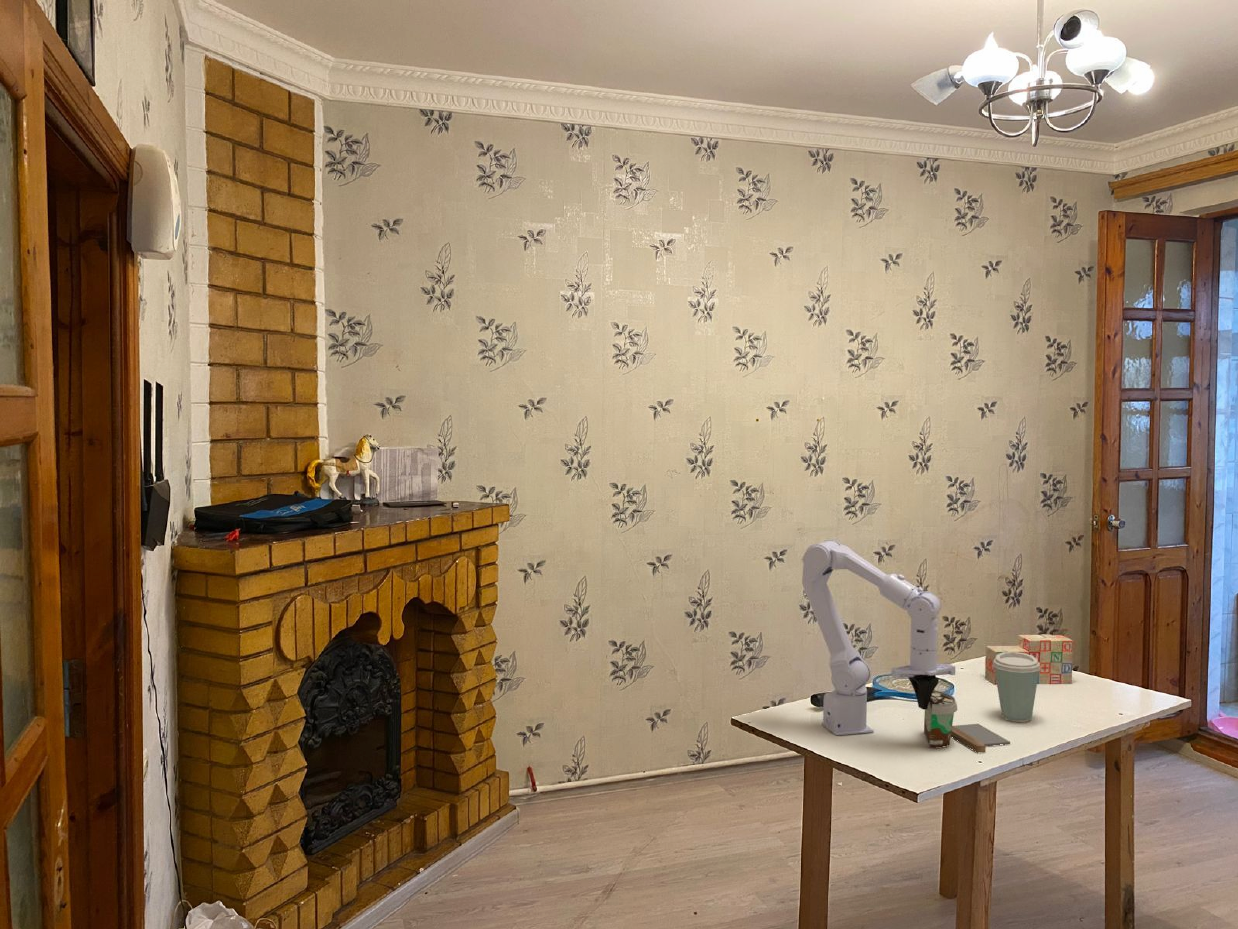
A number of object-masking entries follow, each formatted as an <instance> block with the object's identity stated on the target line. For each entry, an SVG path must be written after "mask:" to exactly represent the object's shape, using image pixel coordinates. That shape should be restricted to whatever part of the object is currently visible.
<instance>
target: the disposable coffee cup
mask: <svg viewBox="0 0 1238 929" xmlns="http://www.w3.org/2000/svg"><path fill="white" fill-rule="evenodd" d="M993 666H994V669H995V675H996V681H997V685H996V688H997V693H998V700H999V706H1000V711H1001V712H1000V713H1001V715H1002V718H1003V719H1005V720H1006V719H1007V720H1006V721H1010V722H1012V723H1013V722H1014V723H1028V722H1031V719H1032V717H1033V712H1034V706H1035V698H1036V694H1037V693H1036V692H1037V687H1038V684H1037V681H1038V675H1039V670H1040V668H1041V667H1040V663H1039V662H1038V660H1037V659H1036V658H1035V657H1033V656H1031V655H1028V654H1025V653H1017V652H1003V653H1000V654H998V655H996V658H995V659H994V661H993Z"/></svg>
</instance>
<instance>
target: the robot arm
mask: <svg viewBox="0 0 1238 929" xmlns="http://www.w3.org/2000/svg"><path fill="white" fill-rule="evenodd" d="M801 560H802V564H803V565H802V566H803V567H802V568H803V569H802V578H801V582H802V586H803V589H804V592H805V594H806V597H807V599H808V602H809V604H810V606H811V610H812V612H813V614H814V617H815V619H816V622H817V624H818V627H819V629H820V632H821V635H822V636H823V640H824V642H825V644H826V647H827V649H828V651H829V654H830V657H829V662H828V663H829V664H828V665H829V668H830V672H831V677H830V678H831V684H832V686H833V687H834V690H832V691H829V692H825V693H824V696H823V703H822V704H823V711H822V713H823V714H822V716H823V718H822V722H821V725H822V726H823V727H825V728H826V729H827V730H829V731H830V732H831V733H833V734H834V735H835V736H844V735H855V734H856V735H858V734H868V733H870V734H871V733H874V729H873V728H871V726H868V724H867V714H868V713H867V711H868V710H867V709H868V708H867V707H868V706H867V705H868V704H867V703H868V699H867V698H868V689H867V686H866V683H868V682H869V681H870V678H871V675H872V674H871V672H872V671H871V668H870V666H869V664H868V663H867V661H865V660H864V659H863V658H862V656H861V653H860V652H859V651H858V650H857V649H856V648H855V647H854V646H853V645H852V642H851V640H850V637H849V635H848V633H847V630H846V628H845V624H844V622H843V620H842V618H841V614H840V613H839V611H838V608H837V606H836V603H835V600H834V599H833V596H832V594H831V591H830V589H829V586H828V581H829V580H830V577H831V575H832V573H833V571H834V570H835V571H836V570H847V571H850V572H852V574H855V575H858V576H859V577H861V578H862V579H864V580H865V581H867V582H869V583H870V584H872V585H874V586H876V587H877V588H878V589H879V594H880V595H881V596H882V597H884V598H885V599H887V600H889V601H890V602H891V603H893V604H895V605H897V606H898V607H899V608H901V609H902V610H904V611H906V612H907V614H908V617H909V618H910V619H911V621H910V622H911V623H910V648H909V650H910V652H909V654H910V655H909V657H910V658H909V664H907V665H904V666H899V667H893V668H892V667H891V672H890V673H891V675H890V676H891V678H893V679H895V680H900V679H902V678H903V679H904V678H908V680H909V682H910V684H911V687H913V691H914V694H915V697H916V702H917V706H918V708H919V709H921V710H924V711H925V709H927V708H928V704H929V701H930V698H931V695H932V693H933V691H934V690H936V687H937V686H938V685H939V682H940V680H939V677H936V676H946V675H949V676H955V675H956V666H954V665H953V664H950V663H949V664H945V663H944V664H942V663H940V664H939V663H938V650H939V648H938V640H939V639H938V638H939V635H938V634H939V628H938V627H939V626H938V624H939V622H938V614H939V613H940V612H941V611H942V610H941V609H942V603H941V600H940V599H939V598H940V597H938V596H937V595H936V594H935V593H934V592H932V591H924V588H923V587H921V586H920V587H917V586H915V585H914V584H912V583H910V582H909V581H907V580H906V579H905V578H906V577H905V576H904V575H903V574H902V573H900V574H896V573H890V574H887V573H885V572H884V571H882V570H880V568H878V567H876V566H874V565H873V564H872V563H870V562H869V561H867V560H866V558H863V557H861V555H860V554H857V553H856V552H855V551H853V550H852V549H851V548H849V547H848V546H847V545H844V544H841V543H840V542H839V541H838V540H835V539H826V540H824V541H822V542H819V543H814V544H812V545H810V546H808V547H807V549H806V550H805V552H804V553H803V556H802V558H801Z"/></svg>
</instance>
